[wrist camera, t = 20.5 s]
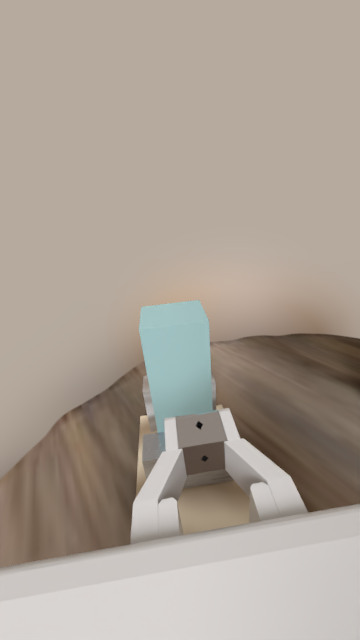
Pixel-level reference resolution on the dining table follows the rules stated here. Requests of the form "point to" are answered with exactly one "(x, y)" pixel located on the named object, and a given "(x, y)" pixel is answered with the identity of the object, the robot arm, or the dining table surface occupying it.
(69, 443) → the dining table surface
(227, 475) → the block
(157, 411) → the teal block
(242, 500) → the vise base
